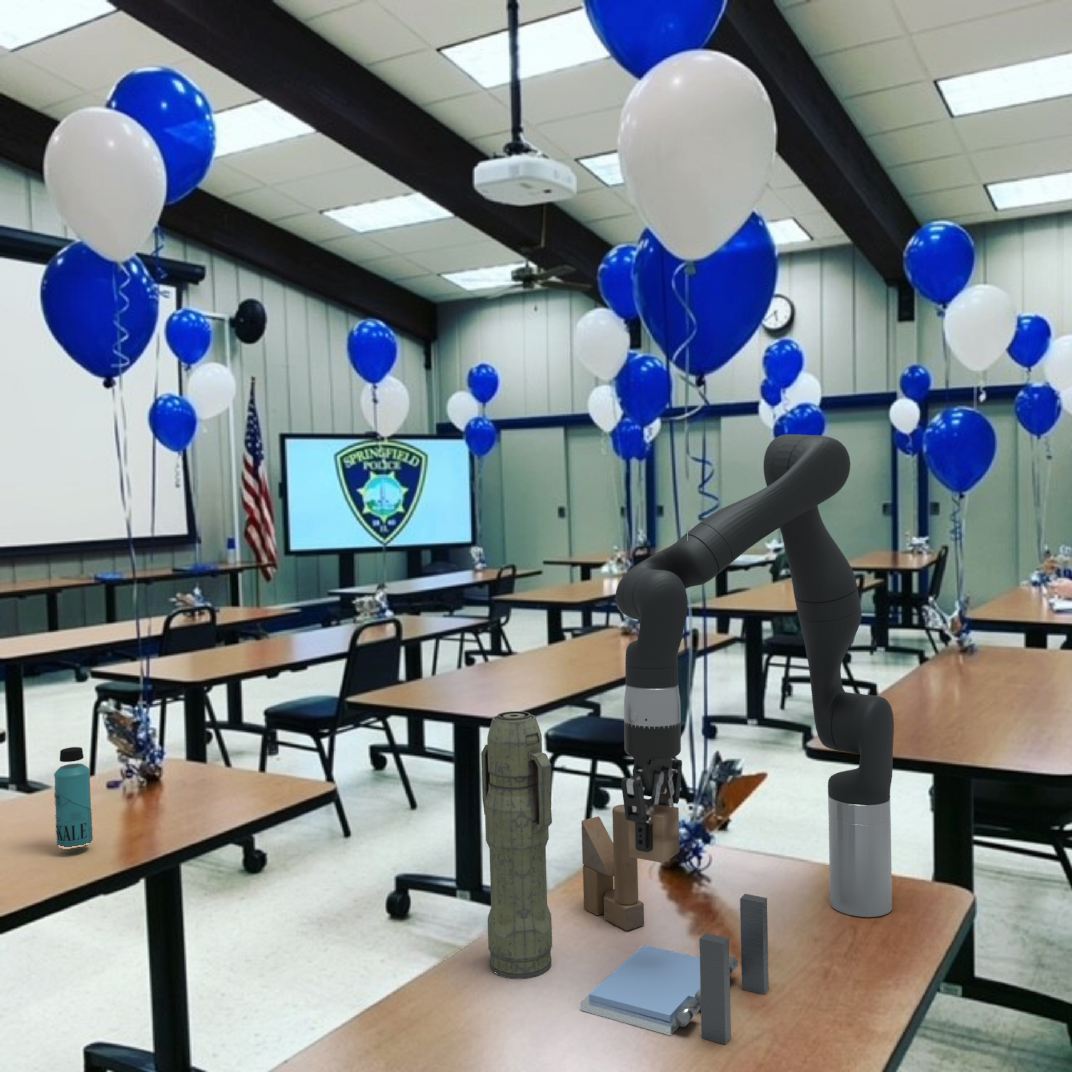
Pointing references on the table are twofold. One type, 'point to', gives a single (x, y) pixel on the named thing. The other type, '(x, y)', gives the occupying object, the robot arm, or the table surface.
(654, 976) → the pale blue flat slab
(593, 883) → the wooden block
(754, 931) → the base leaf
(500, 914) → the thermos
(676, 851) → the block
